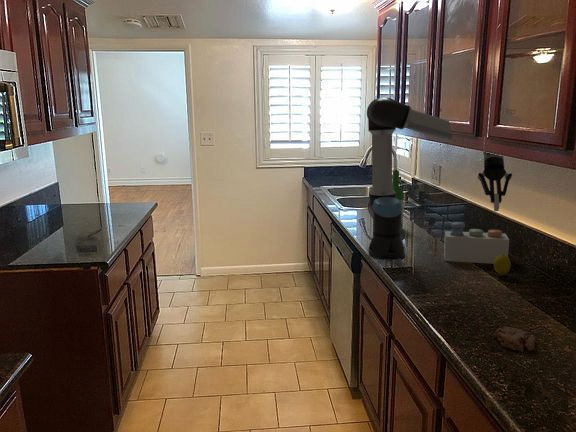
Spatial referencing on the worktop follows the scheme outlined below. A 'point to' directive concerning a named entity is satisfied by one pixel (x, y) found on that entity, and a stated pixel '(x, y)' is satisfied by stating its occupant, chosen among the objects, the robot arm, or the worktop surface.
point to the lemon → (502, 264)
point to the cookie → (515, 339)
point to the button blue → (457, 228)
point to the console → (474, 248)
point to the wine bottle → (398, 190)
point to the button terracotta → (495, 233)
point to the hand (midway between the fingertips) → (496, 209)
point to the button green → (475, 233)
